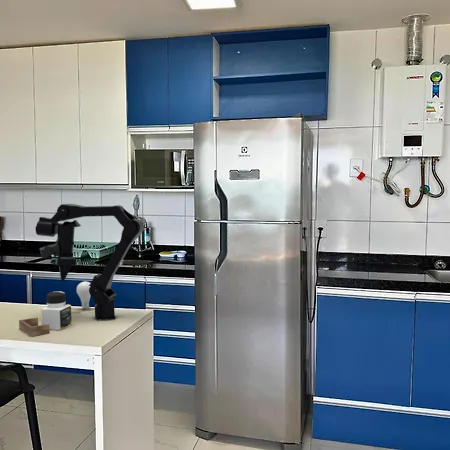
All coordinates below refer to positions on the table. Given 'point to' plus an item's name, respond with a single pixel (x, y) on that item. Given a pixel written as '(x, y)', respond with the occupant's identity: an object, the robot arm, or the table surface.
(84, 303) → the lightbulb
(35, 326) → the corral
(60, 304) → the medicine bottle
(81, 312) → the table surface
